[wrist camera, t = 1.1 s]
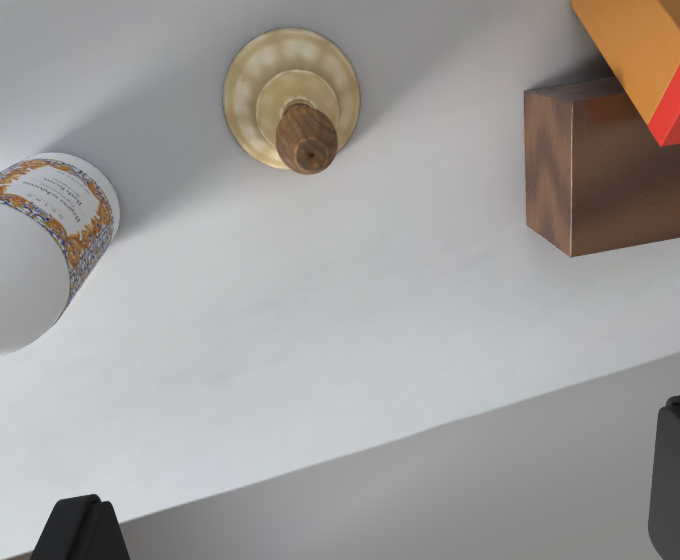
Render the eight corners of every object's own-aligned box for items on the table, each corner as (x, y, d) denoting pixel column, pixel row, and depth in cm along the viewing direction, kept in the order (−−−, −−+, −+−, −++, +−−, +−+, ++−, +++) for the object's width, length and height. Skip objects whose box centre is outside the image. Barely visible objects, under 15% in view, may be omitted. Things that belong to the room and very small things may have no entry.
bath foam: (145, 200, 38) (41, 358, 20) (80, 280, 40) (-73, 496, 21) (45, 125, 36) (-178, 226, 17) (-20, 213, 37) (-290, 391, 19)
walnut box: (523, 90, 39) (571, 102, 33) (717, 58, 39) (800, 64, 33) (526, 225, 42) (570, 258, 36) (704, 193, 43) (777, 220, 37)
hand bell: (352, 174, 39) (408, 261, 25) (220, 164, 38) (197, 249, 23) (367, 36, 36) (442, 40, 21) (225, 20, 35) (201, 13, 20)
